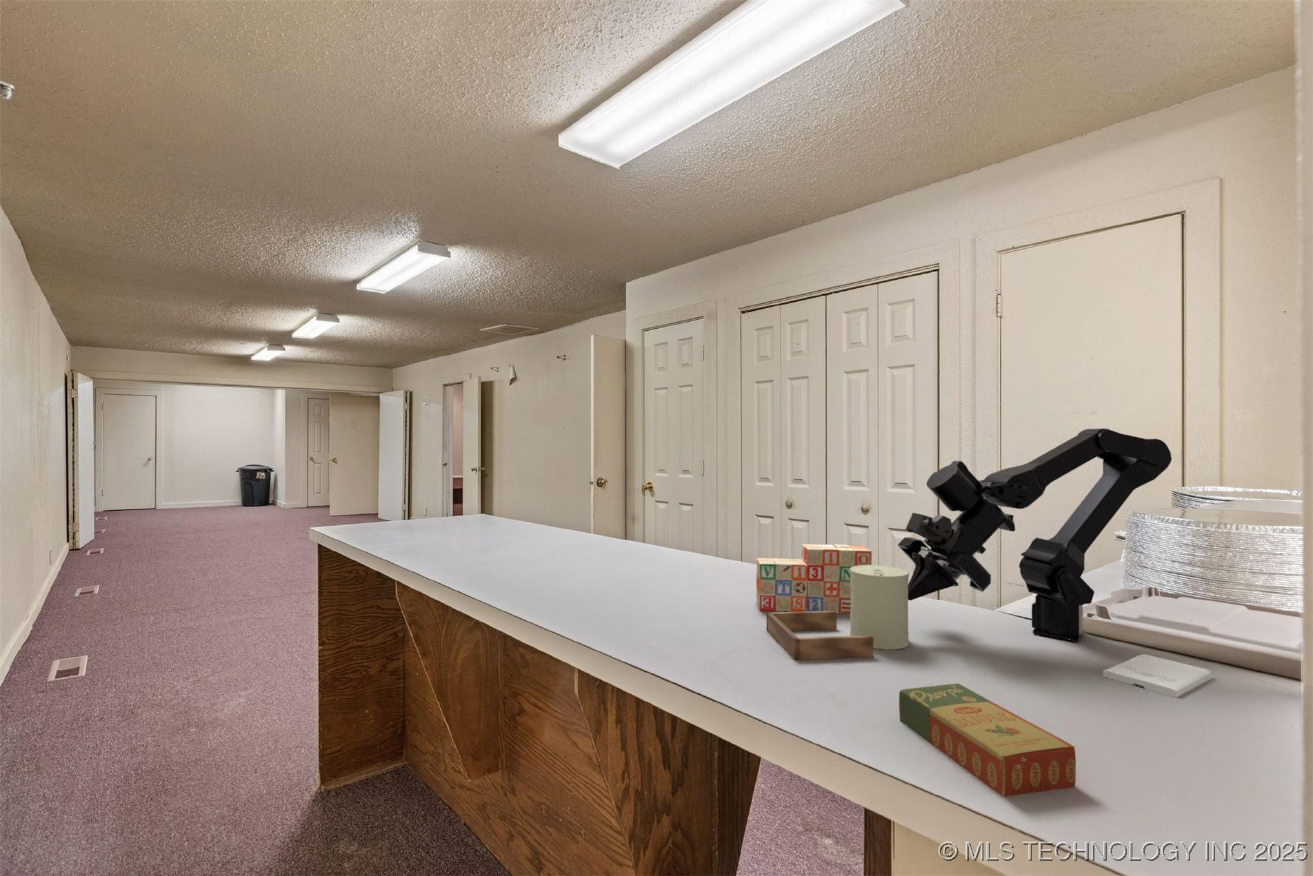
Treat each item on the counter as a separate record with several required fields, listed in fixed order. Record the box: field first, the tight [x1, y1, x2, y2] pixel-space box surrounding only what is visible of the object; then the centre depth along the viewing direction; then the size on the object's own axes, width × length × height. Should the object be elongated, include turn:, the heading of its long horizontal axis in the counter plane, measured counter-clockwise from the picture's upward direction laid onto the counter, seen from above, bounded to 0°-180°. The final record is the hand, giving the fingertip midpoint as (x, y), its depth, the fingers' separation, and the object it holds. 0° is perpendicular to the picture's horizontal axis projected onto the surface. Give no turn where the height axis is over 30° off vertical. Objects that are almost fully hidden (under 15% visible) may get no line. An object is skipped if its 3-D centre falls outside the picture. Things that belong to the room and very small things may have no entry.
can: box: [849, 564, 910, 651], centre depth 99 cm, size 9×9×12 cm
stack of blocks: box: [755, 543, 873, 614], centre depth 119 cm, size 21×6×12 cm, turn 85°
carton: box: [898, 682, 1077, 798], centre depth 64 cm, size 8×16×4 cm, turn 12°
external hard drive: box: [1102, 653, 1213, 698], centre depth 84 cm, size 2×8×12 cm
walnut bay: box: [766, 611, 874, 661], centre depth 98 cm, size 12×15×3 cm
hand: (906, 598), depth 100 cm, fingers closed
